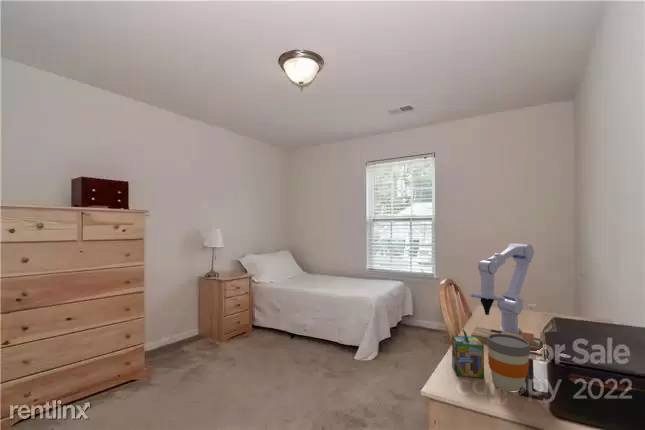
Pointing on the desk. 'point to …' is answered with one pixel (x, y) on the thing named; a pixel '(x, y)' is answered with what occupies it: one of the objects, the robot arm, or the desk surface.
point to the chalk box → (467, 356)
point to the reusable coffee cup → (508, 361)
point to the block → (528, 336)
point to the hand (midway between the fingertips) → (487, 314)
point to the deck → (485, 332)
